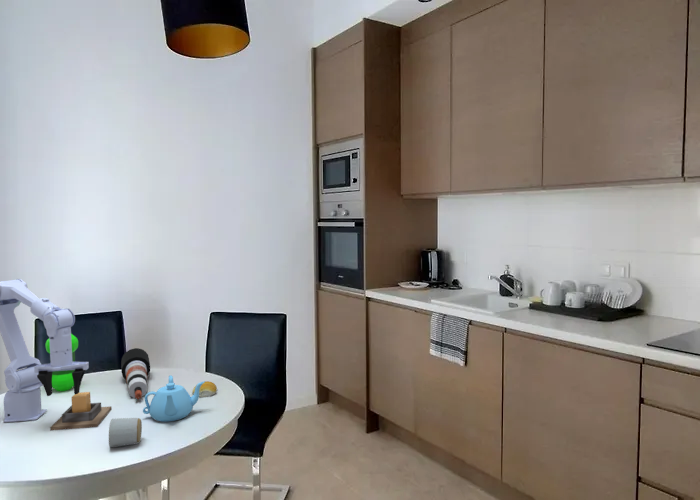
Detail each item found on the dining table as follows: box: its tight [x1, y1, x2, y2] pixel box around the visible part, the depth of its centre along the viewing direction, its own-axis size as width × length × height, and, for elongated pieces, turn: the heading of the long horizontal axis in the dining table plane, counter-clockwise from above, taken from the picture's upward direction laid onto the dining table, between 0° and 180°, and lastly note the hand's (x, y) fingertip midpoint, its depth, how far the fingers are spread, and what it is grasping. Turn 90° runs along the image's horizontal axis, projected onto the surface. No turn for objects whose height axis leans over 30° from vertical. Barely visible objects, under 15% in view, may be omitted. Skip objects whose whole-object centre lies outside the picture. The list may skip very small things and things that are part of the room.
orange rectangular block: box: [71, 391, 92, 413], centre depth 155 cm, size 4×4×7 cm
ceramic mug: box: [108, 417, 143, 448], centre depth 139 cm, size 10×8×7 cm
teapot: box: [142, 375, 205, 423], centre depth 158 cm, size 15×15×10 cm
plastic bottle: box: [45, 333, 79, 392], centre depth 184 cm, size 10×10×25 cm
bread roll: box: [192, 380, 217, 398], centre depth 178 cm, size 8×9×4 cm
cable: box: [120, 347, 151, 400], centre depth 184 cm, size 10×34×10 cm, turn 22°
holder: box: [49, 402, 112, 431], centre depth 156 cm, size 13×14×4 cm
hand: (63, 394), depth 151 cm, fingers open, 7 cm apart
